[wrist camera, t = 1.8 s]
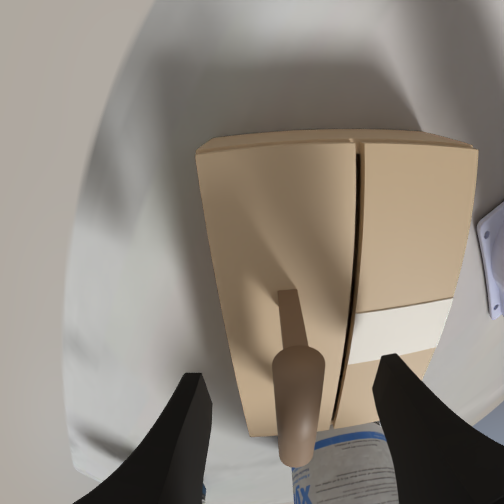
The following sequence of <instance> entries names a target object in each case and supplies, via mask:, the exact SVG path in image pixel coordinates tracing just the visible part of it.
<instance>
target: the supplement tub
mask: <svg viewBox="0 0 504 504" xmlns="http://www.w3.org/2000/svg"><path fill="white" fill-rule="evenodd" d="M291 468H292V480H293V494H294V504H399V499H398V491H397V483H396V477H395V471H394V465H393V461H392V457H391V454H390V450H389V447H388V444H387V441H386V438H385V435H384V432H383V429H382V427H380V426H379V425H378V424H376V423H373V422H371V423H366V424H361V425H355V426H350V427H344V428H338V429H334V428H333V425H330V428H329V430H325V431H318V432H317V434H316V440H315V447H314V452H313V457H312V459H311V461H310V462H309V463H308V464H306V465H304V466H302V467H298V468H293V467H291Z"/></svg>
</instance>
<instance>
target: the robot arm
mask: <svg viewBox="0 0 504 504" xmlns="http://www.w3.org/2000/svg"><path fill="white" fill-rule="evenodd" d="M485 232H486V234H485ZM477 233H478V237H479V242H480V247H481V252H482V258H483V264H484V270H485V277H486V284H487V292H488V301H489V312H490V317H491V319H492V320H495V319H497V318H498V317H499V316H500V315H503V316H504V201H503V202H502V203H501V204H500V205H499V206H497V207H496V208H495V209H494V210H492V211H491V212H490V213H489V214H487V215H486V216H485V217H484V218H482V219H481V220H480V221H479V222H478V225H477ZM484 234H485V235H484ZM372 391H373V396H374V401H375V406H376V411H377V414H378V417H379V420H380V423H381V426H382V429H383V432H384V435H385V438H386V441H387V444H388V447H389V450H390V454H391V457H392V461H393V465H394V471H395V477H396V483H397V491H398V499H399V504H504V446H503V445H501V444H499V443H497V442H495V441H494V440H492V439H490V438H488V437H487V436H485V435H484V434H482V433H481V432H479V431H477V430H476V429H474V428H473V427H472V426H470V425H469V424H468V423H466V422H465V421H464V420H463V419H461V418H460V417H459V416H458V415H456V414H455V413H454V412H453V411H452V410H451V409H449V408H448V407H447V406H446V405H445V404H444V403H443V402H442V401H441V400H440V399H439V398H438V397H437V396H436V395H435V394H434V393H433V392H432V391H431V390H430V389H429V388H428V387H427V386H426V385H425V384H424V383H423V382H422V381H421V380H420V379H419V377H418V376H417V375H416V374H415V373H414V372H413V371H412V370H411V369H410V368H409V366H408V365H407V364H406V363H405V362H404V361H403V360H402V359H401V358H400V356H399V355H398V354H397V353H393V354H388V355H383V356H381V359H380V363H379V366H378V370H377V373H376V377H375V380H374V383H373V386H372ZM211 425H212V401H211V399H210V396H209V393H208V390H207V387H206V384H205V382H204V379H203V376H202V373H185V374H184V375H183V377H182V378H181V380H180V382H179V384H178V386H177V388H176V390H175V391H174V393H173V395H172V397H171V398H170V400H169V402H168V403H167V405H166V407H165V408H164V410H163V411H162V413H161V415H160V416H159V418H158V419H157V421H156V422H155V424H154V425H153V427H152V428H151V429H150V431H149V432H148V434H147V435H146V436H145V438H144V439H143V440H142V442H141V443H140V444H139V445H138V447H137V448H136V449H135V450H134V451H133V453H132V454H131V455H130V456H129V457H128V458H127V459H126V460H125V461H124V462H123V463H122V464H121V465H120V466H119V468H118V469H117V470H116V471H114V472H113V473H112V474H111V475H110V476H109V477H108V478H107V479H106V480H104V481H103V482H102V483H101V484H99V486H97V487H96V488H95V489H93V490H92V491H91V492H89V493H88V494H87V495H85V496H83V497H82V498H81V499H79V500H77V501H76V502H74V503H73V504H202V490H203V477H204V470H205V464H206V458H207V452H208V446H209V439H210V433H211Z"/></svg>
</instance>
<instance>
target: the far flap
mask: <svg viewBox="0 0 504 504" xmlns="http://www.w3.org/2000/svg"><path fill="white" fill-rule="evenodd" d="M195 159H196V166H197V173H198V179H199V186H200V192H201V199H202V205H203V211H204V217H205V223H206V229H207V235H208V240H209V246H210V252H211V257H212V263H213V268H214V273H215V279H216V284H217V289H218V294H219V300H220V305H221V310H222V315H223V320H224V325H225V329H226V334H227V339H228V344H229V348H230V353H231V358H232V362H233V367H234V371H235V376H236V380H237V385H238V389H239V393H240V398H241V402H242V406H243V411H244V415H245V419H246V423H247V427H248V431H249V435H250V437H261V436H278V446H279V457H280V460H281V461H282V462H283V463H284V464H285V465H287V466H289V467H293V468H298V467H302V466H304V465H306V464H308V463H309V462H310V461H311V459H312V457H313V452H314V447H315V440H316V434H317V432H318V431H325V430H329V428H330V423H331V418H332V413H333V408H334V403H335V398H336V393H337V387H338V382H339V376H340V370H341V363H342V357H343V350H344V343H345V335H346V328H347V319H348V311H349V301H350V291H351V280H352V267H353V253H354V235H355V208H356V146H355V143H353V142H321V143H299V144H283V145H269V146H257V147H247V148H237V149H228V150H220V151H212V152H204V153H197V154H196V155H195Z"/></svg>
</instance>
